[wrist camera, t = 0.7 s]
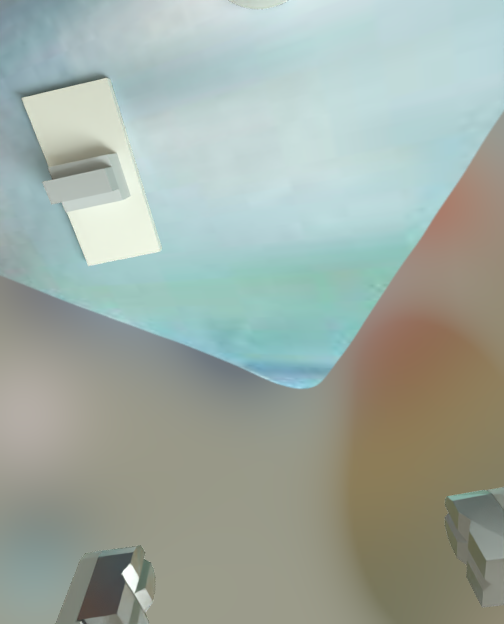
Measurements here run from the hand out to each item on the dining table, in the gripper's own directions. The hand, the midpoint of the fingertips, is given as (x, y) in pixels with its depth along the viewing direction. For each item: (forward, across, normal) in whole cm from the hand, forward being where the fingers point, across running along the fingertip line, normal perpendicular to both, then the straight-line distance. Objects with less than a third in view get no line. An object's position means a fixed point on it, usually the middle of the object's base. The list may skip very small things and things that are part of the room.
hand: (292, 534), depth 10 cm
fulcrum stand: (+43, +18, -8) cm, 48 cm away
